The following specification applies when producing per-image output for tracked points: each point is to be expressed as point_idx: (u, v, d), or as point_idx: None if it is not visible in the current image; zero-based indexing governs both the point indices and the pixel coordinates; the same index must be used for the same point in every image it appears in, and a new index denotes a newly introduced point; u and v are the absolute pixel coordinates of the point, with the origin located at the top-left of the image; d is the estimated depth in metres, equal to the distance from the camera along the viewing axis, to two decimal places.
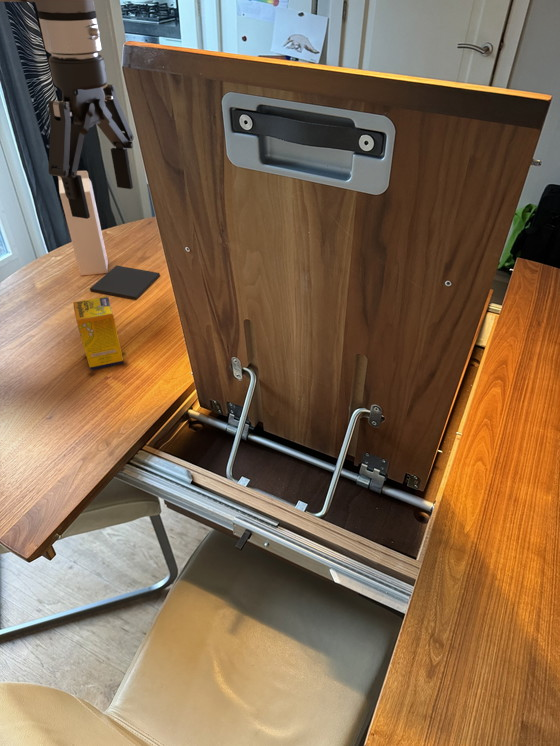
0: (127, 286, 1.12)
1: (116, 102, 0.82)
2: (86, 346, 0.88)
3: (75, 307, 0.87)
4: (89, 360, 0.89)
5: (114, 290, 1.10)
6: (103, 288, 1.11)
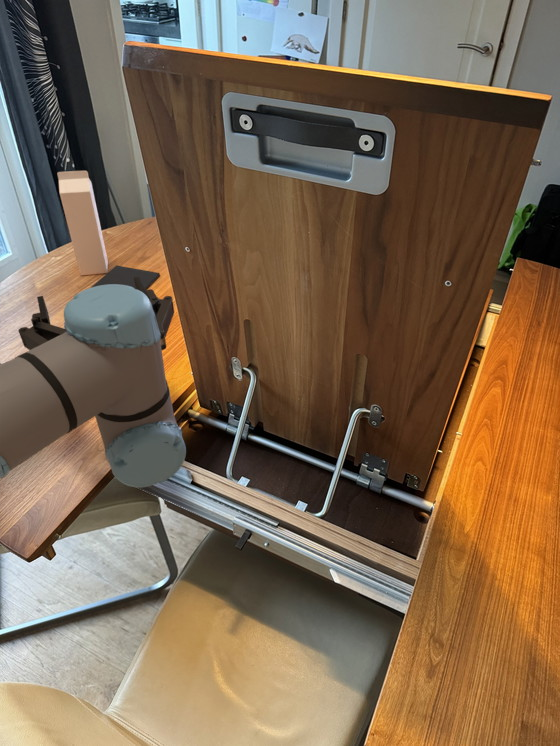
0: None
1: None
2: None
3: None
4: None
5: None
6: None
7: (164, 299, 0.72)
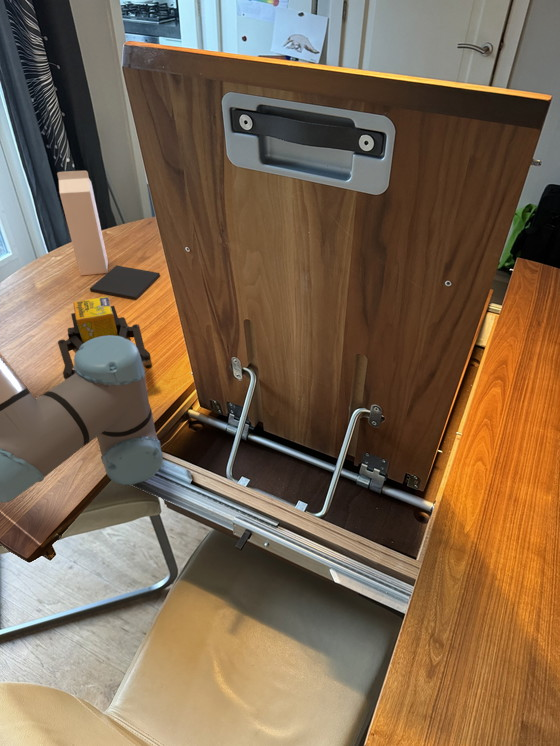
0: (127, 286, 1.12)
1: None
2: None
3: (75, 307, 0.87)
4: None
5: (114, 290, 1.10)
6: (103, 288, 1.11)
7: (133, 328, 0.89)
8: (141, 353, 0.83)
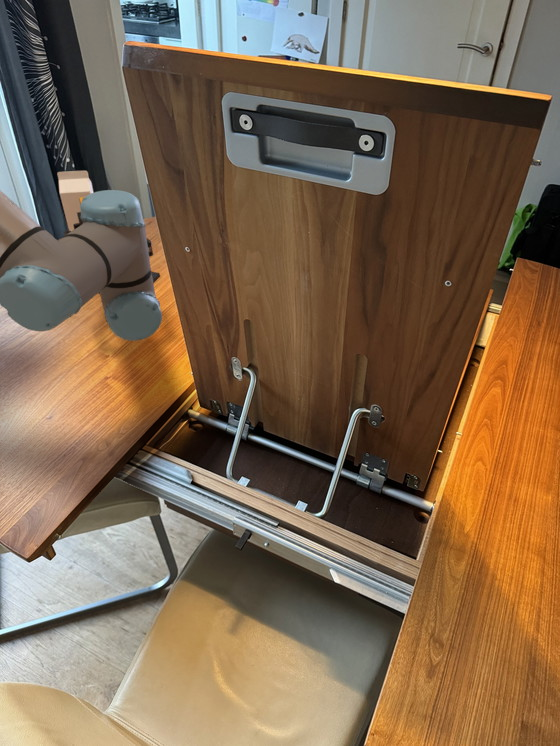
0: None
1: None
2: None
3: (81, 201, 0.91)
4: None
5: None
6: None
7: None
8: None
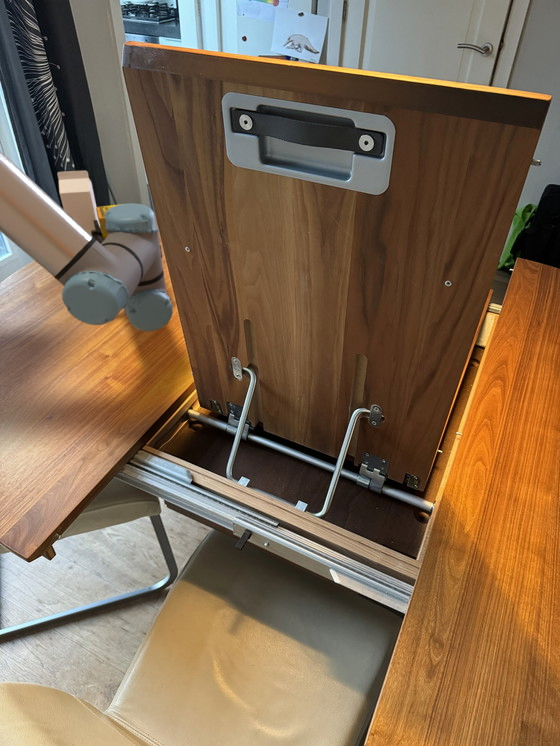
0: None
1: None
2: None
3: (97, 210, 1.04)
4: None
5: None
6: None
7: None
8: None
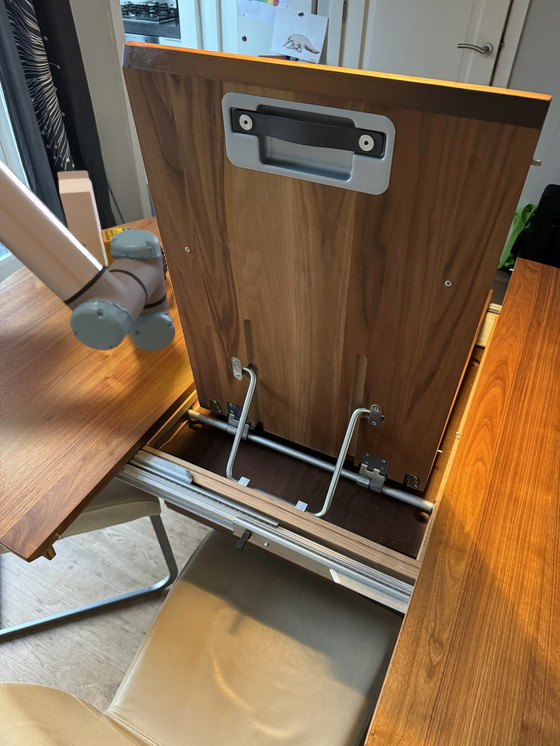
0: None
1: None
2: None
3: (102, 234, 1.07)
4: None
5: None
6: None
7: None
8: None
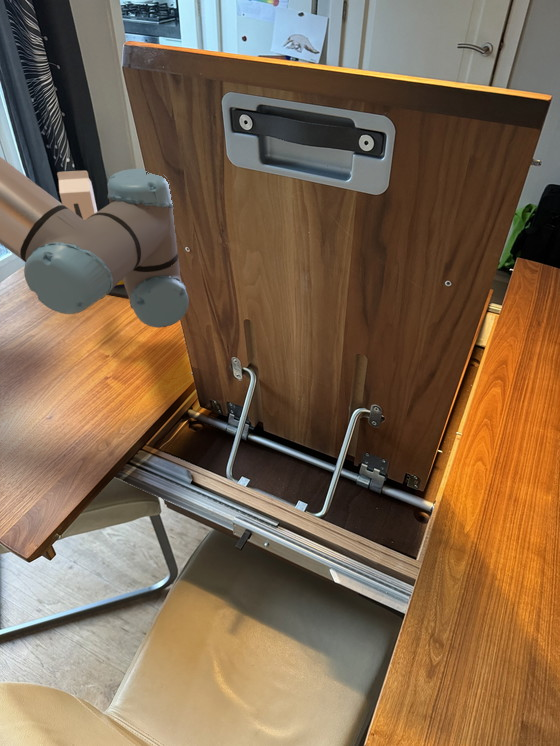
0: None
1: None
2: None
3: None
4: None
5: (114, 290, 1.10)
6: None
7: None
8: None
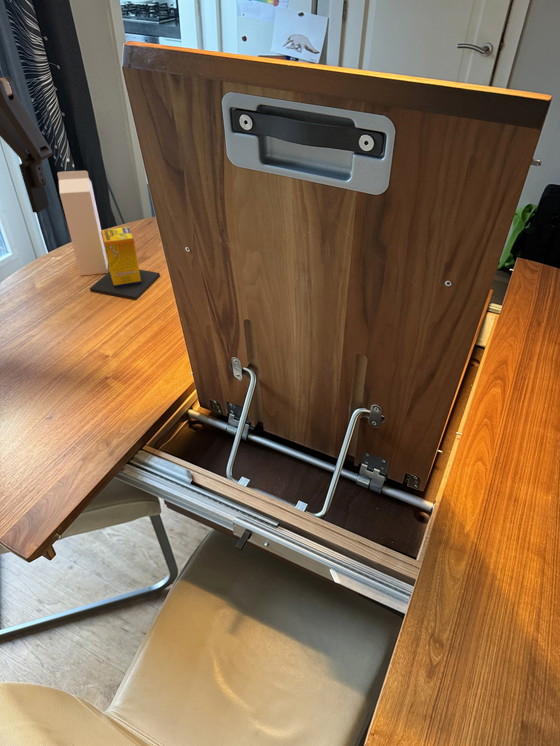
0: (127, 286, 1.12)
1: None
2: (112, 265, 1.08)
3: (103, 234, 1.07)
4: (113, 279, 1.10)
5: (114, 290, 1.10)
6: (103, 288, 1.11)
7: None
8: None
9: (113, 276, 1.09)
